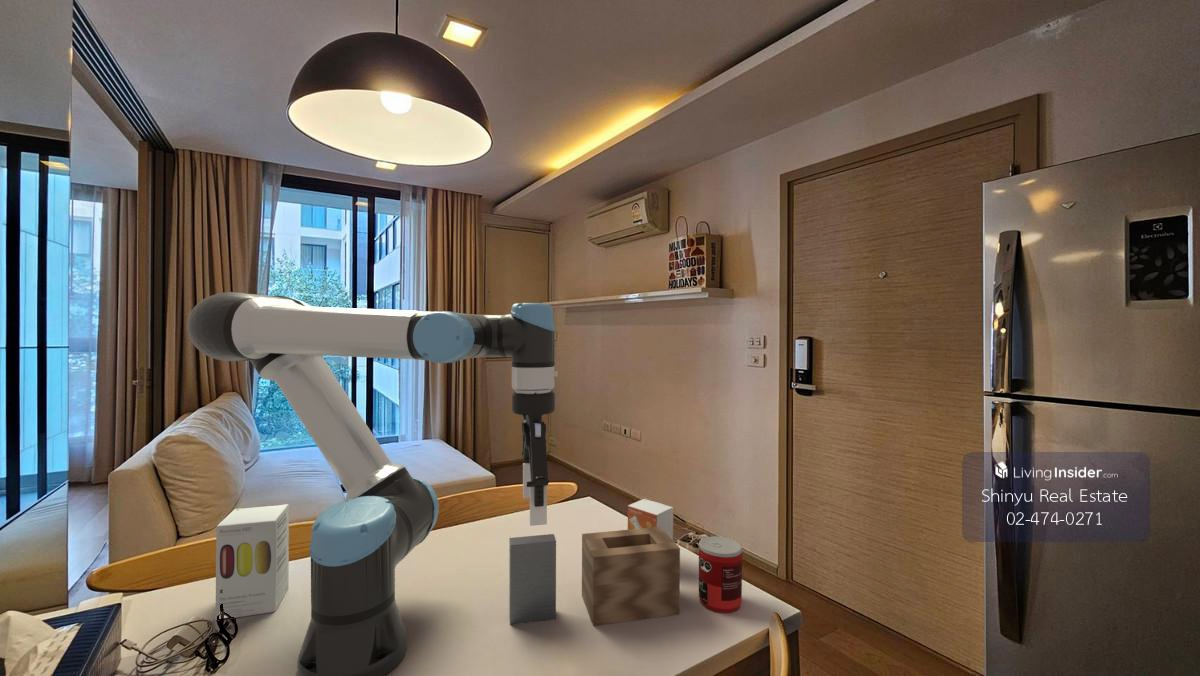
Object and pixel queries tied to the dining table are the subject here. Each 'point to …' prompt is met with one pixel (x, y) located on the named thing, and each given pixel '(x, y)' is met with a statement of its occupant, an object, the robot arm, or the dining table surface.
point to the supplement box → (252, 560)
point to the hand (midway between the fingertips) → (534, 509)
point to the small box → (650, 516)
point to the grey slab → (532, 578)
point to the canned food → (720, 574)
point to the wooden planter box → (630, 575)
